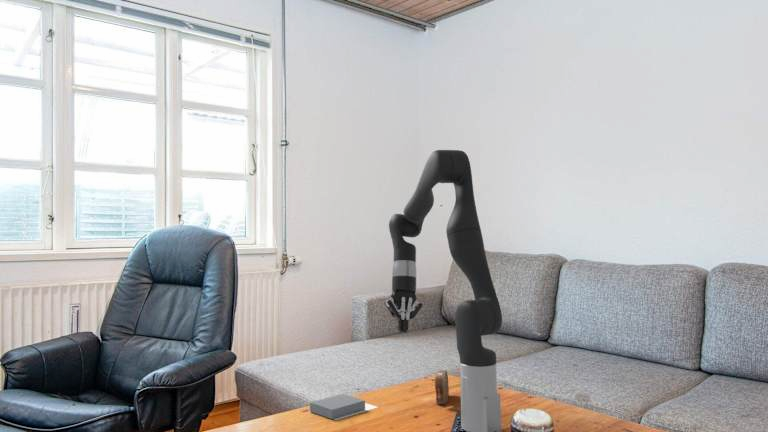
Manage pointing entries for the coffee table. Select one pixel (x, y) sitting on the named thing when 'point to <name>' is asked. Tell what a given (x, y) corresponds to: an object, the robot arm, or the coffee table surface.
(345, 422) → the coffee table surface
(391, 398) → the coffee table surface
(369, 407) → the mat
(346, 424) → the coffee table surface
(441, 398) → the tin
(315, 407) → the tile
